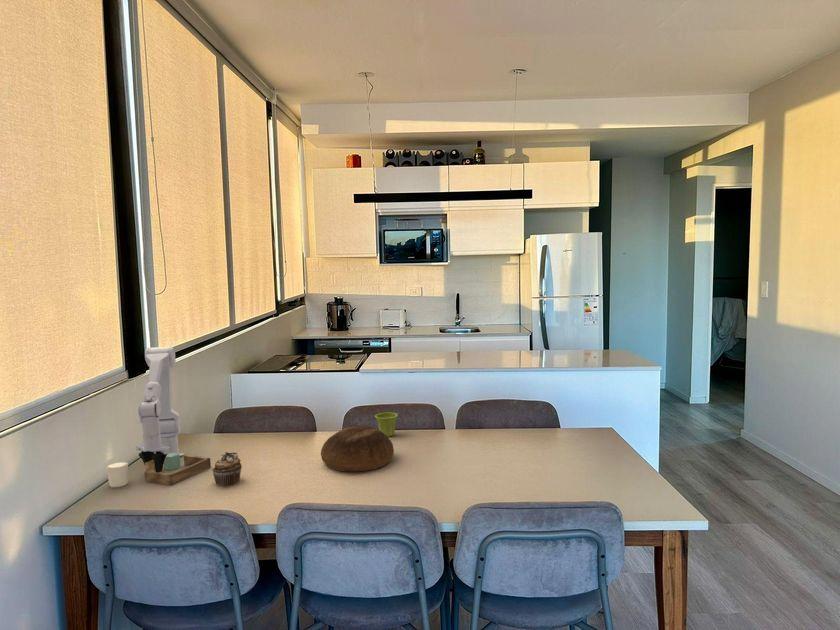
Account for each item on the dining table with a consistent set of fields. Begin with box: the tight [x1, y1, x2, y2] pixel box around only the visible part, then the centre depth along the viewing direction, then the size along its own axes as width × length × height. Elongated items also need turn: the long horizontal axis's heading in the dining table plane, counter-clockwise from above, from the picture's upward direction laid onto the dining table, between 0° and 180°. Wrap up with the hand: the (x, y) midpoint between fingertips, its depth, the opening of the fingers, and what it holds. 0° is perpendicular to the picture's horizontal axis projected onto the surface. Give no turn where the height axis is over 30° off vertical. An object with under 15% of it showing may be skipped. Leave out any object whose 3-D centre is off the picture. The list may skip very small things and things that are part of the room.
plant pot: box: [375, 412, 399, 438], centre depth 254 cm, size 9×9×9 cm
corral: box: [144, 454, 212, 486], centre depth 215 cm, size 12×19×4 cm, turn 156°
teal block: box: [163, 453, 181, 471], centre depth 223 cm, size 4×4×5 cm
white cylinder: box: [105, 461, 129, 488], centre depth 207 cm, size 7×7×7 cm
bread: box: [320, 424, 395, 473], centre depth 222 cm, size 26×27×13 cm
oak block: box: [144, 460, 164, 473], centre depth 215 cm, size 4×4×5 cm
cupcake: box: [211, 451, 242, 487], centre depth 205 cm, size 10×10×10 cm
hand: (154, 471), depth 216 cm, fingers closed on oak block, 4 cm apart
